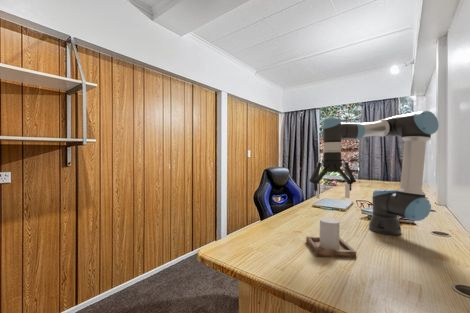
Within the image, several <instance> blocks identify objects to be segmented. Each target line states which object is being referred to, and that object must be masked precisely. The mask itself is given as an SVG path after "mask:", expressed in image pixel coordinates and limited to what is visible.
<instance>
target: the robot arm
mask: <svg viewBox="0 0 470 313" xmlns="http://www.w3.org/2000/svg"><path fill="white" fill-rule="evenodd" d="M322 125H323V126H322V131H321V137H322V139H323V143H322V144H323V148H322V149H323V154H322V155H323V158H322V159H323V162H320V161H319V162H316V165H315V168H314V170H313V173H312V174H311V177H310V179H309V183H312V184H313V190H314V191H315V198H316V199H320V183H319V182H320V181H321V180H322V179H323V178H324V177H325V175H326V174H327V173H338V174H339V175H340V176H341V177H342V178H343V180H344V181H345V182H346V183H344V195H345V196H344V198H346V199H350V197H351V195H350V193H351V191H352V185H353V184H354V183H356V182H357V180H356V179H355V176H354V174H353V172H352V170H351V168H350V166H349V162H348V161H344V162H342V152H341V151H342V141H344V140H345V141H346V140H360V139H362V138H366V137H375V136H378V137H381V138H382V137H401V138H400V139H401V140H402V141H404V143H403V154H402V155H403V156H402V163H401V164H402V166H401V175H400V176H401V177H400V183H399V184H400V186H399V187H398V188H397V189H374V190H373V191H372V198H371V199H372V216H371V218H370V221H369V223H368V229H369V230H370V231H373V232H375V233H378V234H383V235H391V236H397V235H401V234H402V227H401V225H400V222H399V220H398V219H399V218H398V217H400V218H404V219H407V220H411V221H416V222H420V221H423V220H425V219H426V218H427V217H428V216H429V215H430V213H431V210H432V204H431V202H430V200H428V199H427V198H426V193H425V191H423V179H424V171H425V170H424V169H425V161H426V160H425V158H426V149H427V142H428V141H430V140H431V138H432V137H431V136H432V135H433V134H435V133H436V132H437V131H438V130H439V127H440V126H439V121H438V118H437V116H436V115H435V113H433V112H432V111H429V110H422V111H420V110H419V111H415V112H409V113H405V114H399V115H394V116H391V117H386V118H381V119H378V120H377V121H372V122H370V121H369V122H359V123H358V122H342V119H341V118H340V117H328V118H325V119H324V120H323V124H322ZM322 167H323V169H322V171H321V172H320V170H321V168H322ZM342 167H343V169H344V170H345V172H344V171H343V169H341V168H342ZM319 172H320V173H319ZM345 173H346V174H347V175H346V174H345Z"/></svg>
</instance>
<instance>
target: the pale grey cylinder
mask: <svg viewBox="0 0 470 313" xmlns="http://www.w3.org/2000/svg"><path fill="white" fill-rule="evenodd" d="M340 223H341V222H340V220H339V219H337V218H331V217H321V218H319V237H320V247H321V248H323V249H325V250H339V237H340V226H341V225H340Z"/></svg>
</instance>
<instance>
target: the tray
mask: <svg viewBox="0 0 470 313" xmlns="http://www.w3.org/2000/svg"><path fill="white" fill-rule="evenodd" d="M305 242H306V244H307V245H308V246H309V247H310V249H311V250H312V252H313V253H314V255H315V256H316V257H317V258H342V259H343V258H346V259H347V258H349V259H350V258H352V259H353V258H354V259H356V258H357V251H356V250H355V249H354V248H352V246H350V245H349V244H348V243H347V242H346V241H344V240H343V239H342V238H341V237H340V236H339V250H325V249H323V248H321V247H320V236H306V240H305Z"/></svg>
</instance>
